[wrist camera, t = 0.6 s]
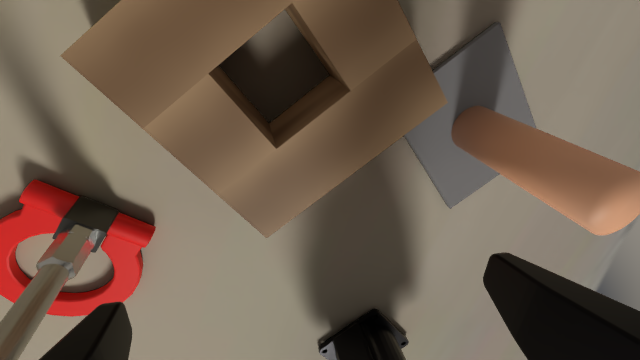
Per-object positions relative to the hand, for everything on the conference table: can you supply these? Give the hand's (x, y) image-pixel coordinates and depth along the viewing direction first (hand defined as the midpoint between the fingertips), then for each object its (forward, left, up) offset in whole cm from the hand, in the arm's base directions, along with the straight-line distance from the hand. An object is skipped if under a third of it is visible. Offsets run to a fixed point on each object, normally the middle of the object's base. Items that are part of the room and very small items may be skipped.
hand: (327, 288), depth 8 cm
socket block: (+2, -2, -13) cm, 14 cm away
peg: (-9, -10, -13) cm, 18 cm away
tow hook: (+1, +15, -14) cm, 20 cm away
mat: (-9, -10, -13) cm, 19 cm away
